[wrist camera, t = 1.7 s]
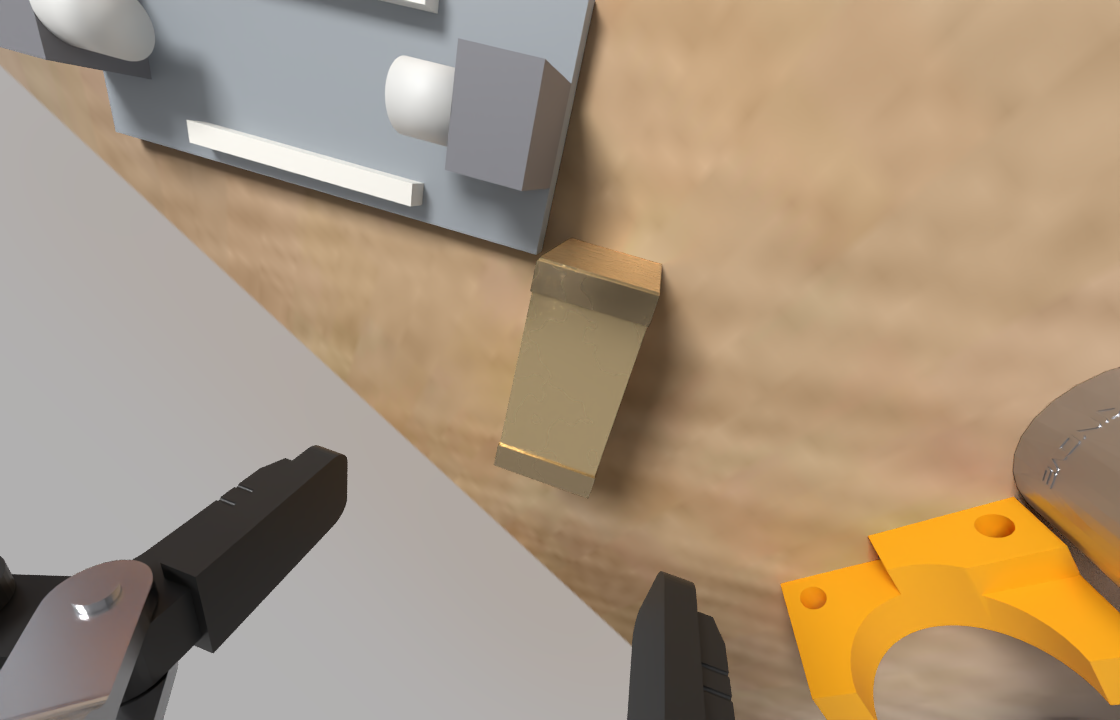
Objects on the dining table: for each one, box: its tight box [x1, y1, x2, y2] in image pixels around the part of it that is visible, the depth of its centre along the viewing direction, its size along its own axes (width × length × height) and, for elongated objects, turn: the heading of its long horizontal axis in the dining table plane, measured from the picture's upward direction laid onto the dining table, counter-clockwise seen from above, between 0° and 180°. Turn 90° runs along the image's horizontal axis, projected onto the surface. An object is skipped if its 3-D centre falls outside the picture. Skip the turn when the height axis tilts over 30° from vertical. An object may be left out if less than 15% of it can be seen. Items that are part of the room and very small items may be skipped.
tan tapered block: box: [494, 238, 662, 498], centre depth 20 cm, size 10×5×6 cm, turn 166°
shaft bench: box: [0, 0, 595, 255], centre depth 18 cm, size 24×10×5 cm, turn 76°
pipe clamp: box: [781, 497, 1120, 720], centre depth 20 cm, size 12×4×6 cm, turn 126°
